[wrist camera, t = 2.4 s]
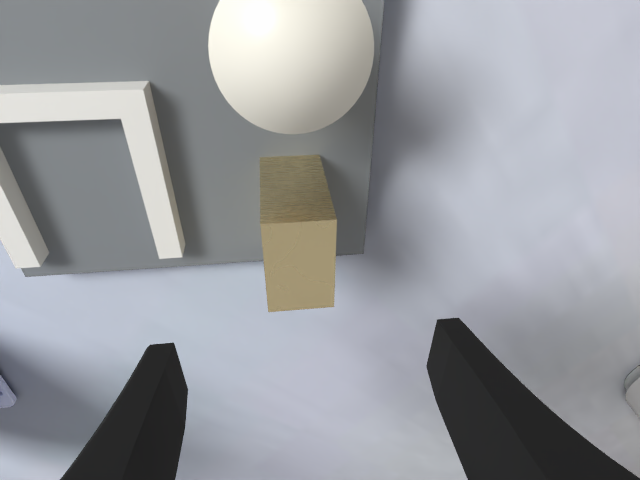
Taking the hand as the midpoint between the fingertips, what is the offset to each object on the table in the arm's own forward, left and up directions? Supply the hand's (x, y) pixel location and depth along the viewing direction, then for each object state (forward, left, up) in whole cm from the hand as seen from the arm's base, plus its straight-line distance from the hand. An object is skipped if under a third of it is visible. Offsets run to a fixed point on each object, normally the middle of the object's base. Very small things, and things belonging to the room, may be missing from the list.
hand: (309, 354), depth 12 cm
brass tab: (0, 0, -9) cm, 9 cm away
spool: (+7, 0, -9) cm, 11 cm away
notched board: (+3, +5, -10) cm, 12 cm away
